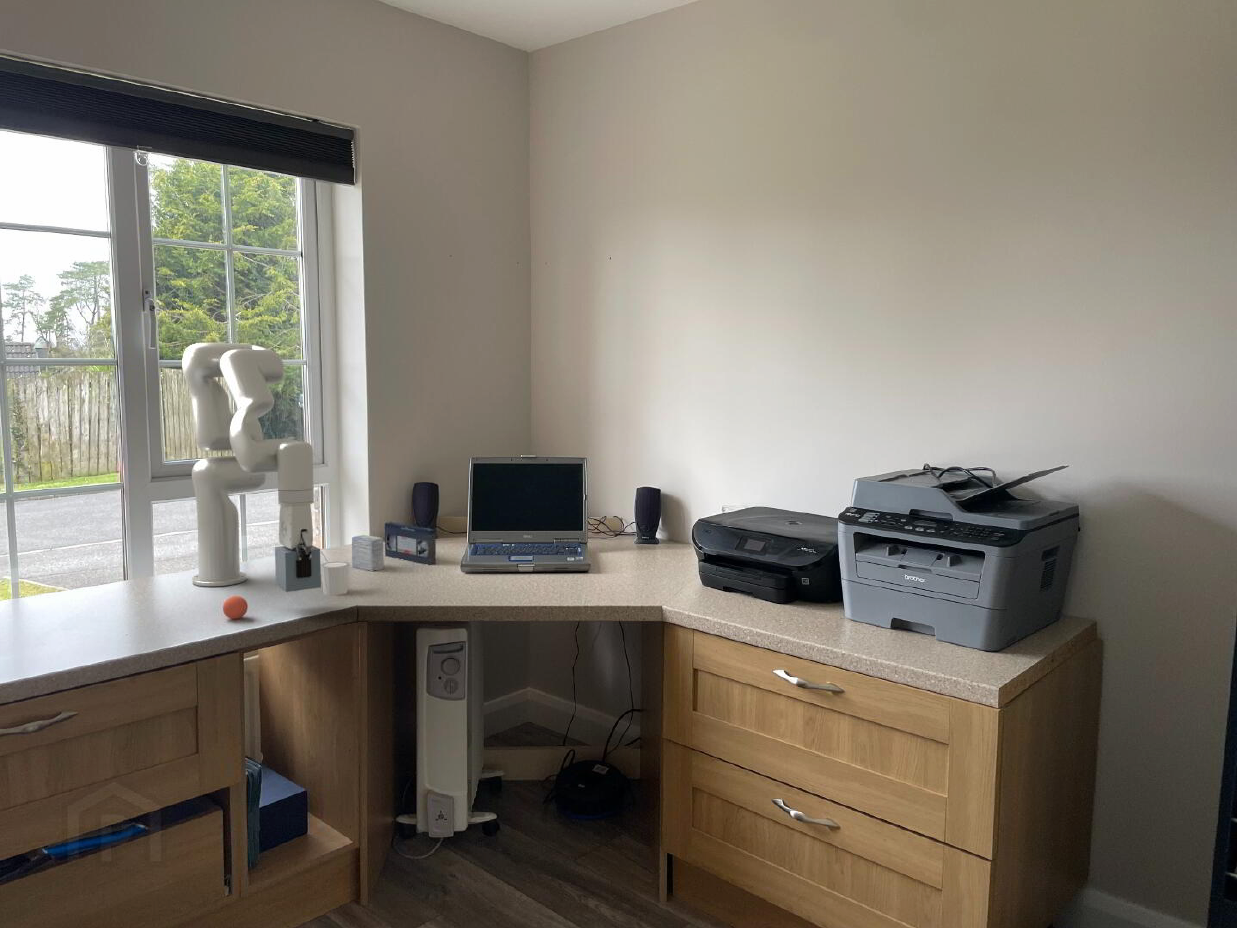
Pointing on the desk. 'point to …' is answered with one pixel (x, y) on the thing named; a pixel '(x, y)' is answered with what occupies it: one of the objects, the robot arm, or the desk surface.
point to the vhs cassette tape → (410, 543)
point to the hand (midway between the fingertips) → (298, 573)
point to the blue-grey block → (287, 570)
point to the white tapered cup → (335, 577)
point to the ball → (235, 607)
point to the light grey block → (367, 552)
